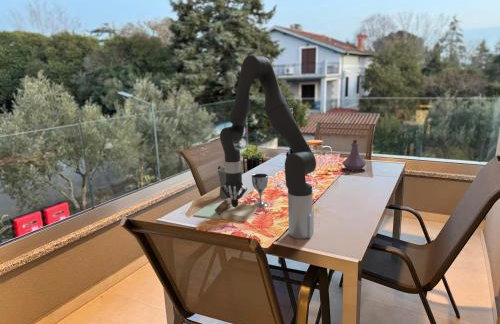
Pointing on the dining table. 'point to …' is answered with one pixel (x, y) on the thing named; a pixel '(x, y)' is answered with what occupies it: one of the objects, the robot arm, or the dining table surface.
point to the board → (239, 212)
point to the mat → (209, 212)
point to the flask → (354, 159)
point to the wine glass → (260, 186)
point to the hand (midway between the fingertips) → (235, 206)
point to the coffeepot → (222, 181)
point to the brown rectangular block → (223, 206)
